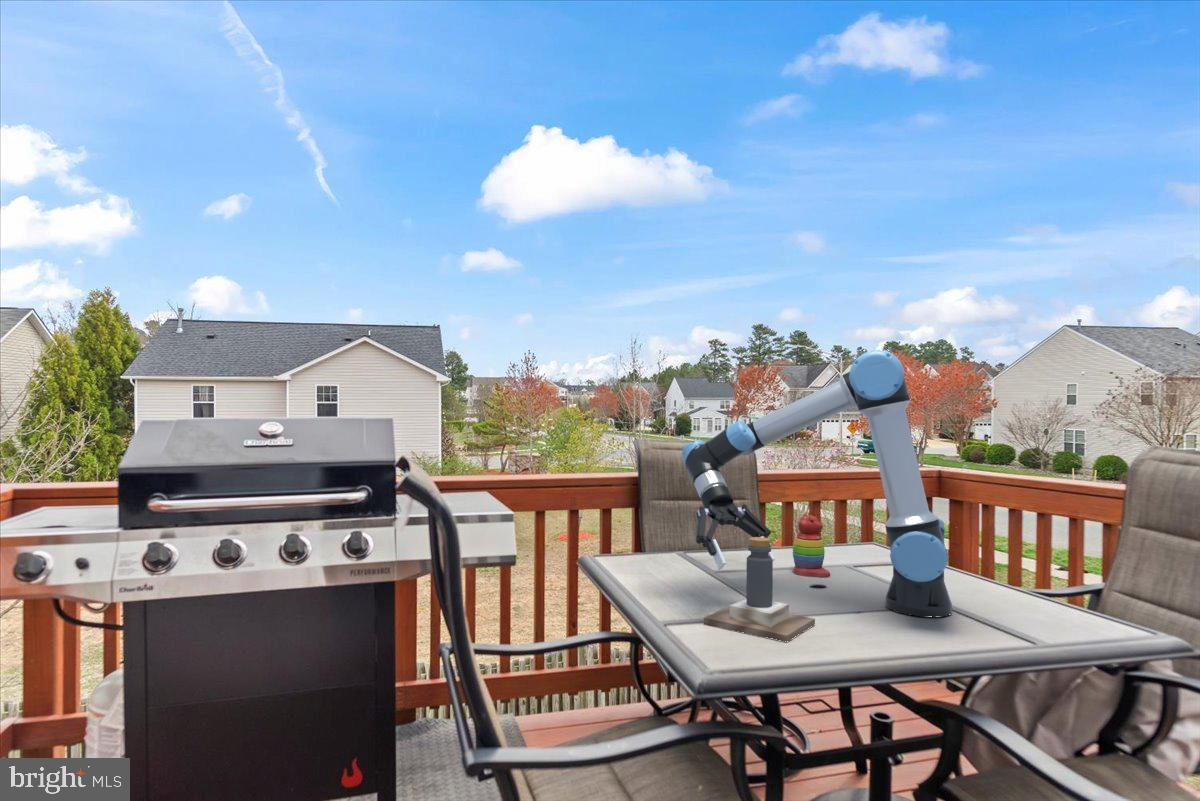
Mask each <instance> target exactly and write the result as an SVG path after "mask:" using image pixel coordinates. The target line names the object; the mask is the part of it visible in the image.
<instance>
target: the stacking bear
mask: <svg viewBox="0 0 1200 801" xmlns="http://www.w3.org/2000/svg"><path fill="white" fill-rule="evenodd" d="M797 526H798V531H799V532H798V533H797V534H796V537H795V538H794V541H793V546H792V559H793V563H794V567H793V570H792V572H793V573H794V574H795V573H796V574H795V575H799V576H802V575H803V577H810V576H812V577H811V578H829V577H831V573H830V571H829V570H827V569H825V568H824V567H823V565H824V560H825V553H826V552H825V546H824V541H823V539H822V538H823V537H822V536H821V535H820V533H821V532H822V530H823V528H824V524H822V522H821V521H820V520H819V518H818V517H817V516H815V515H813V514H812V515H811V514H807V513H804V514H803V515H802V516H801V517H800V518H799V520H798V522H797Z"/></svg>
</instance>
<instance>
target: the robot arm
mask: <svg viewBox="0 0 1200 801" xmlns="http://www.w3.org/2000/svg"><path fill="white" fill-rule="evenodd" d="M910 403H911V398H910V394H909V389H908V386H907V382H906V377H905V370H904V367H903V364H902V362H901V361H900V359H899V358H898V357H897V356H896V355H895V354H893V353H891V352H889V351H887V350H880V349H876V350H870V351H867V352H864V353H862V354H861V355H859V356H858V357H857V358H856V359H855V360H854V361H853V363H852V365H851V367H850V369H849V371H848V372H846V373H844V374H841V375H840V378H839V380H838V381H836V382H834V383H831V384H830V385H827V386H826V387H823V388H822V389H819V390H817V391H815V392H813V393H811V394H808V395H807V396H804V397H802V398H800V399H797V400H795V401H794V402H792V403H789V404H788V405H787V404H786V405H785V406H783V407H780V408H778V409H776V410H774V411H772V412H769V413H768V414H766V415H764V416H762V417H759V418H758V419H755V420H754V421H751V422H749V423H747V424H746V423H745V422H744V421H742V420H737V421H736V422H734V423H732V424H730V425H728V426H727V428H724V430H722V431H721V432H720V433H718V434H717V435H716V436H715V435H714V437H713V438H711V439H710V440H708V441H707V442H706V441H704V440H701V439H695V440H694V441H692V442H691V441H690V442H688V443H687V444H686V445H684V447H683V449H682V452H681V456H682V459H683V462H684V466H685V468H686V470H687V471H688V475H690V479H691V480H692V482H693V485H694V487H695V490H696V492H697V494H698V496H699V498H700V501H701V503H702V505H700V506H699V508H698V510H697V511H696V517H697V527H696V536H695V542H696V543H697V544H699V545H700V544H702V547H704V548H706V550H707V552H708V554H709V555H710V556H711V557H713V560H714V563H715V564H716V566H717V569H718V570H722V569H723V568H724V567H725V565H726V564H727V562H726V559H725V557H724V555H723V553H722V550H721V548H720V546H719V544H718V542H717V539H715V538H714V539H713V537H714V535H715V532H716V529H717V527H718V525H720V526H724V525H728V526H732V525H733V526H734V527H736V528H739V529H741V530H742V531H743V532H745V533H746V534H748V535H749V536H751V537H764V538H769V537H770V535H771V534H772V531H771V530H770V529H769V528H768V527H767V526H766V525H765V524H764V523H763V522H762V521H761V520H760V519H759V518H758V517H757V516H756V515H754V513H753V512H751V511H750V509H749V507H748V506H747V504H742V505H741V506H738V507H737V506H736V504H735V503H734V498H733V495H732V493H731V491H730V489H729V487H728V485H727V483H726V480H725V478H724V477H723V474H722V472H721V471H720V469H721V468H722V467H723V466H725V465H727V464H728V463H730V462H731V461H733V460H734V459H736V458H738V457H741V456H748V455H751V454H753V453H754V452H755V451H757V450H760V449H762V448H764V447H766V446H768V445H770V444H772V443H773V444H774V443H775V442H777V441H779V440H781V439H784V438H787V437H788V436H790V435H792V434H795V433H797V432H800V431H802V430H804V429H806V428H808V427H810V426H813V425H815V424H817V423H819V422H821V421H824V420H826V419H828V418H830V417H832V416H835V415H837V414H839V413H841V412H844V411H846V410H848V409H850V408H856V409H857V410H858V413H860V414H861V415H863V416H864V417H866V418H867V424H868V427H869V431H870V436H871V440H872V445H873V448H874V453H875V457H876V461H877V465H878V469H879V470H878V471H879V475H880V479H881V483H882V487H883V491H884V496H885V501H886V505H887V509H888V514H889V517H888V519H887V521H886V522H885V523H884V526H885V531H886V536H887V539H888V545H889V548H890V551H889V554H890V555H889V557H890V562H891V564H892V578H891V581H890V583H889V587H888V589H887V592H886V595H885V607H886V608H887V607H888V608H889V609H888V608H887V609H888V610H890V609H892V610H895V611H898V612H901V613H900V614H902V613H905V614H904V615H906V614H911V615H916V616H915V617H918V616H932V617H931V618H936V617H935V616H946V617H948V616H947V615H949V614H951V613H952V614H953V605H952V604H953V603H952V601H951V598H950V595H949V591H948V588H947V586H946V582H945V570H946V569H947V568H946V567H947V565H948V561H949V553H948V550H947V547H946V545H945V533H946V528H945V523H944V520H942V518H941V519H940V518H939V517H938V516H937V515H936V514H935V513H932V512H931V510H929V504H928V501H927V496H926V493H925V488H924V484H923V479H922V476H921V471H920V467H919V463H918V458H917V455H916V451H915V446H914V442H913V437H912V433H911V428H910V425H909V420H908V416H907V412H906V409H907V407H908V406H909V405H910ZM707 516H708V517H709V518H711V519H712V521H711V523H710V526H709V529H708V530H707V534H706V535H705V533H706V522H707ZM737 519H738V520H737ZM736 520H737V521H736ZM769 546H770V547H771V544H770V543H769ZM771 548H772V547H771ZM768 555H769V556H770V557H771V558H772V559H773V562H774V561H775V557H774V555H773V552H772V551H771V552H769V553H768ZM892 610H891V611H892ZM895 611H894V612H895ZM898 612H897V613H898ZM952 614H951V615H952ZM911 615H910V616H911ZM949 616H950V615H949Z"/></svg>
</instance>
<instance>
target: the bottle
mask: <svg viewBox="0 0 1200 801" xmlns="http://www.w3.org/2000/svg"><path fill="white" fill-rule="evenodd" d="M748 540H749V545H748V552H750V554H749V555H748V556H747V557H746V582H745V583H746V585H745V587H746V596H745V597H746V598H745V599H746V602H747V604H748V605H750V606H753V607H761V608H763V607H770V606H772V601H773V593H774V592H773V582H774V580H773V572H774V571H773V569H774V567H773V564H774V561H773V559H772V558H771V557H770V556H769V555H768V553H769V552H772V547H770V546H771V545H770V546H769V544H770V543H771V539H770V538H769V537H768V538H764V537H752V536H751V537H749V539H748Z"/></svg>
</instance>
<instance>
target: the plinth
mask: <svg viewBox="0 0 1200 801" xmlns="http://www.w3.org/2000/svg"><path fill="white" fill-rule="evenodd" d="M814 624H815V625H816V618H814V617H808V616H803V615H800V614H799V615H797V614H793V613H790V604H789V603H785V602H779V601H773V600H772V606H770V607H763V608H761V607H753V606H750V605H748V604H747V602H746V598H743V599H742V600H739V601H737V602H735V603H732V604H730V605H728V606H726V607H724V608H722V609H720V610H717V611H715V612H713V613H711V614H709V615H706V616H704V617H703V625H705V626H710V627H713V628H714V627H716V628H720V629H725V630H728V631H732V630H734V631H733V632H737V631H739V632H738V633H741V632H744V633H743V634H746V633H748V634H747V635H750V634H752V635H751V636H754V635H757V636H756V637H759V636H762V637H761V638H763V637H768V638H773V639H777V640H781V641H786V642H787V641H789V640H790V641H792V640H793V639H792V638H794V637H795V636H797V635H798V634H800V633H802V632H803V631H805V630H807V629H808V628H810V627H811V626H813V625H814ZM813 627H814V626H813ZM811 628H812V627H811ZM811 628H810V629H811ZM808 630H809V629H808ZM808 630H807V631H808ZM805 632H806V631H805ZM803 633H804V632H803ZM803 633H802V634H803ZM800 635H801V634H800ZM798 636H799V635H798ZM798 636H797V637H798ZM768 638H767V639H768ZM795 638H796V637H795ZM795 638H794V639H795ZM791 639H792V640H791ZM777 640H776V641H777ZM781 641H780V642H781ZM790 641H789V642H790ZM786 642H785V643H786ZM787 643H788V642H787Z"/></svg>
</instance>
